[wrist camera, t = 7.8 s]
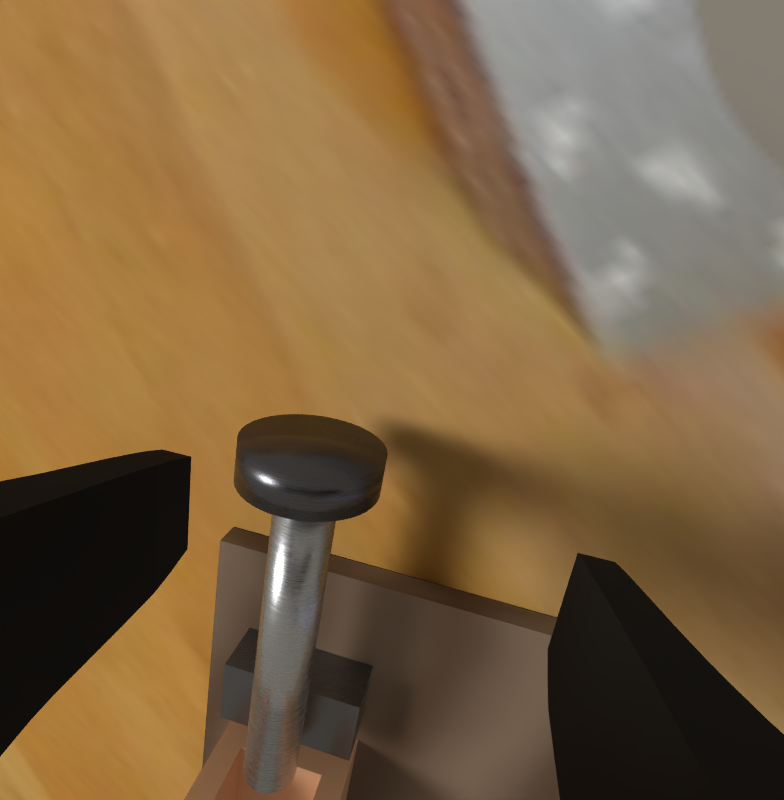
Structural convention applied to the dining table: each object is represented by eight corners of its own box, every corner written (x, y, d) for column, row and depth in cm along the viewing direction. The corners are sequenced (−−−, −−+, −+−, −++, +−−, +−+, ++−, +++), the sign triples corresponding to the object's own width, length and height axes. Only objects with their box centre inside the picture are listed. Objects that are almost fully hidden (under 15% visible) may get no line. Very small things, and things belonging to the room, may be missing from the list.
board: (660, 647, 18) (668, 669, 17) (529, 961, 24) (530, 991, 23) (233, 527, 20) (220, 540, 19) (206, 838, 26) (194, 860, 25)
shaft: (400, 434, 16) (366, 493, 12) (343, 734, 19) (303, 850, 16) (276, 404, 16) (206, 451, 13) (244, 701, 20) (183, 806, 16)
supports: (373, 666, 20) (359, 707, 18) (333, 860, 23) (318, 911, 21) (249, 627, 20) (225, 664, 19) (229, 821, 24) (206, 868, 22)
